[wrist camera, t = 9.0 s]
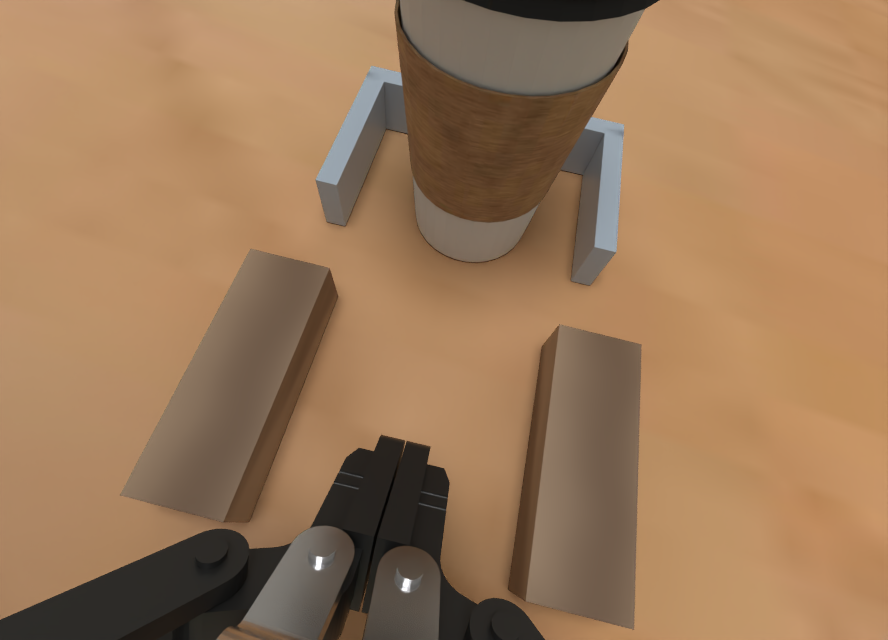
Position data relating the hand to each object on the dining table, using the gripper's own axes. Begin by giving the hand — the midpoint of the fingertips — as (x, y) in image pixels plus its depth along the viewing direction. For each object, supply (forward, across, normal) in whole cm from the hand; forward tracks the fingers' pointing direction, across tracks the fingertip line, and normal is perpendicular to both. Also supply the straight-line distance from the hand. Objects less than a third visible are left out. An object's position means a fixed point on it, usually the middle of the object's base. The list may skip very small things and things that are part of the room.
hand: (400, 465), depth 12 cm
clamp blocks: (+5, 0, +2) cm, 5 cm away
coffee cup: (+13, 0, -6) cm, 15 cm away
